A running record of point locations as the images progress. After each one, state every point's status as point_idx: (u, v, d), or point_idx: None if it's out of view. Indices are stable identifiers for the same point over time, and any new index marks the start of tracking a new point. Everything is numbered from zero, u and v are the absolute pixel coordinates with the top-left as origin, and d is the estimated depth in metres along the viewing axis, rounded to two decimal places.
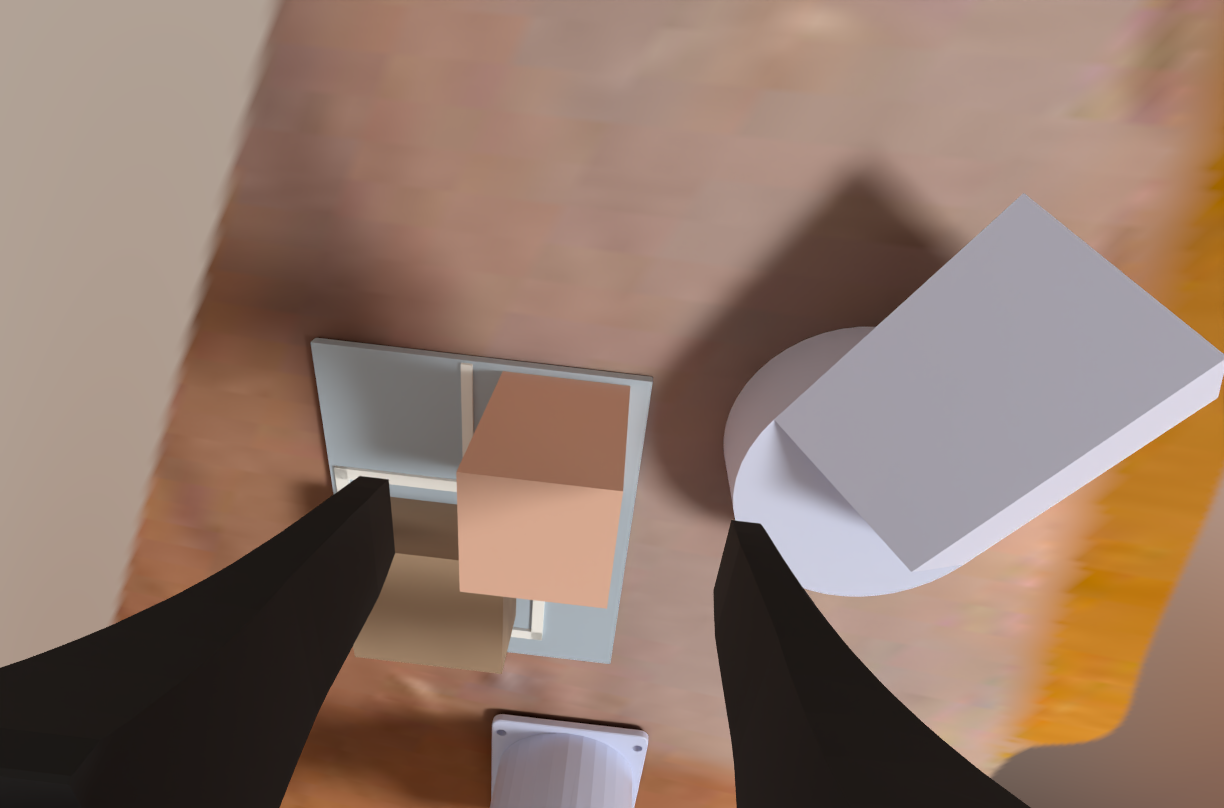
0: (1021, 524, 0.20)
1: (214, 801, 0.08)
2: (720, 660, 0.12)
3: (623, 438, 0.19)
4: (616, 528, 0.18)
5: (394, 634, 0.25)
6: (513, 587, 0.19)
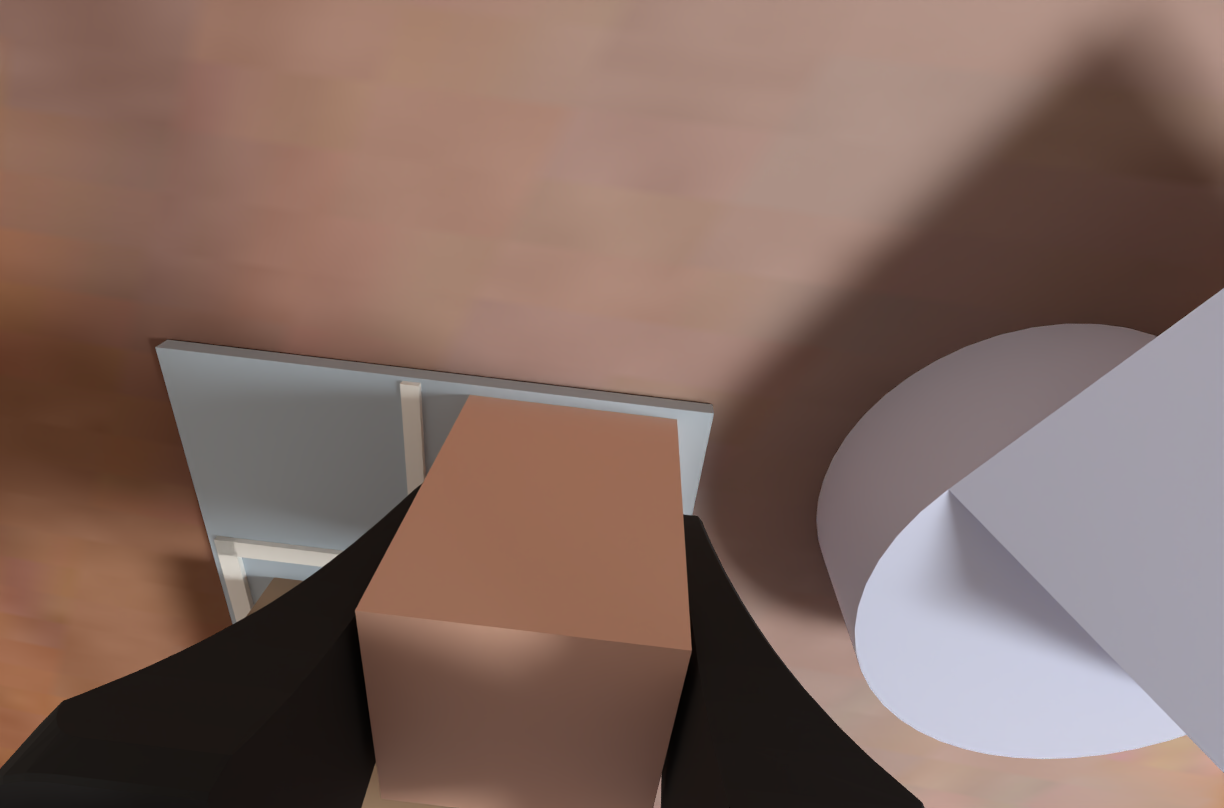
0: None
1: None
2: None
3: (678, 522, 0.11)
4: (673, 711, 0.09)
5: None
6: (478, 796, 0.10)
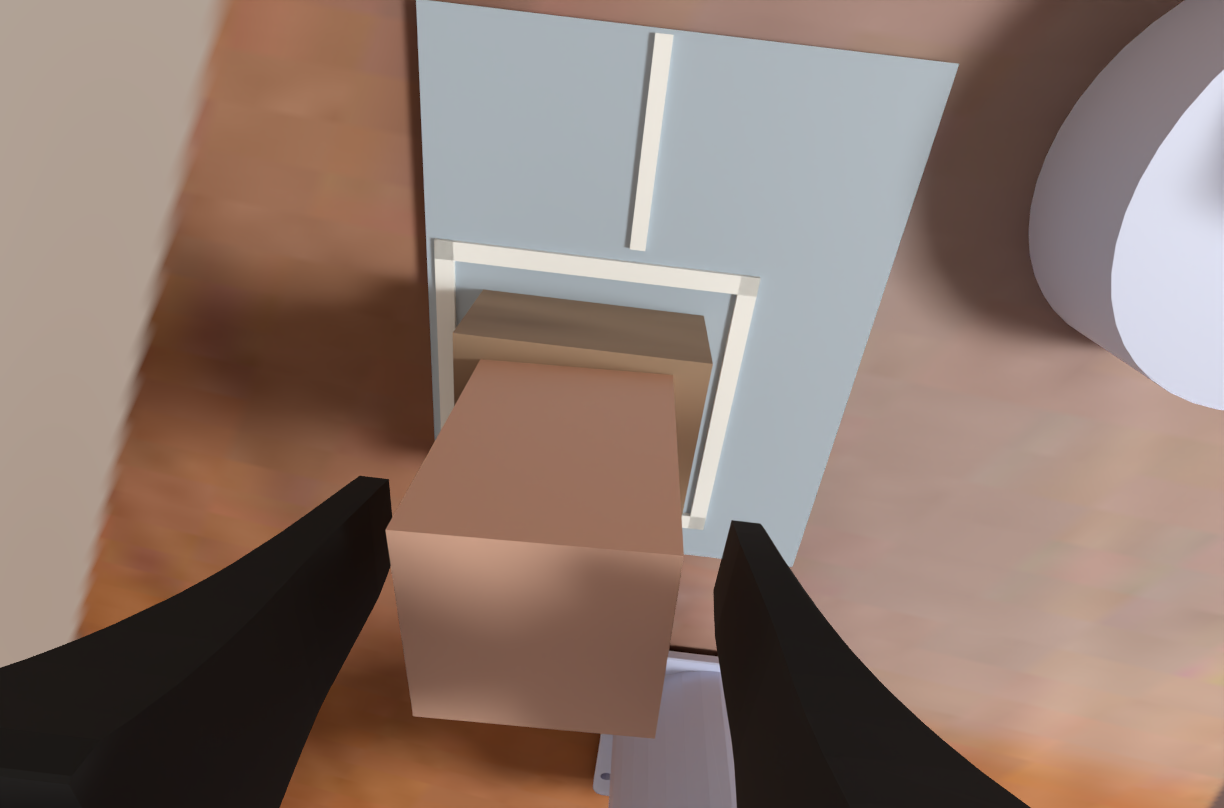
0: None
1: (214, 801, 0.08)
2: (720, 660, 0.12)
3: (673, 458, 0.12)
4: (671, 617, 0.10)
5: None
6: (500, 709, 0.11)
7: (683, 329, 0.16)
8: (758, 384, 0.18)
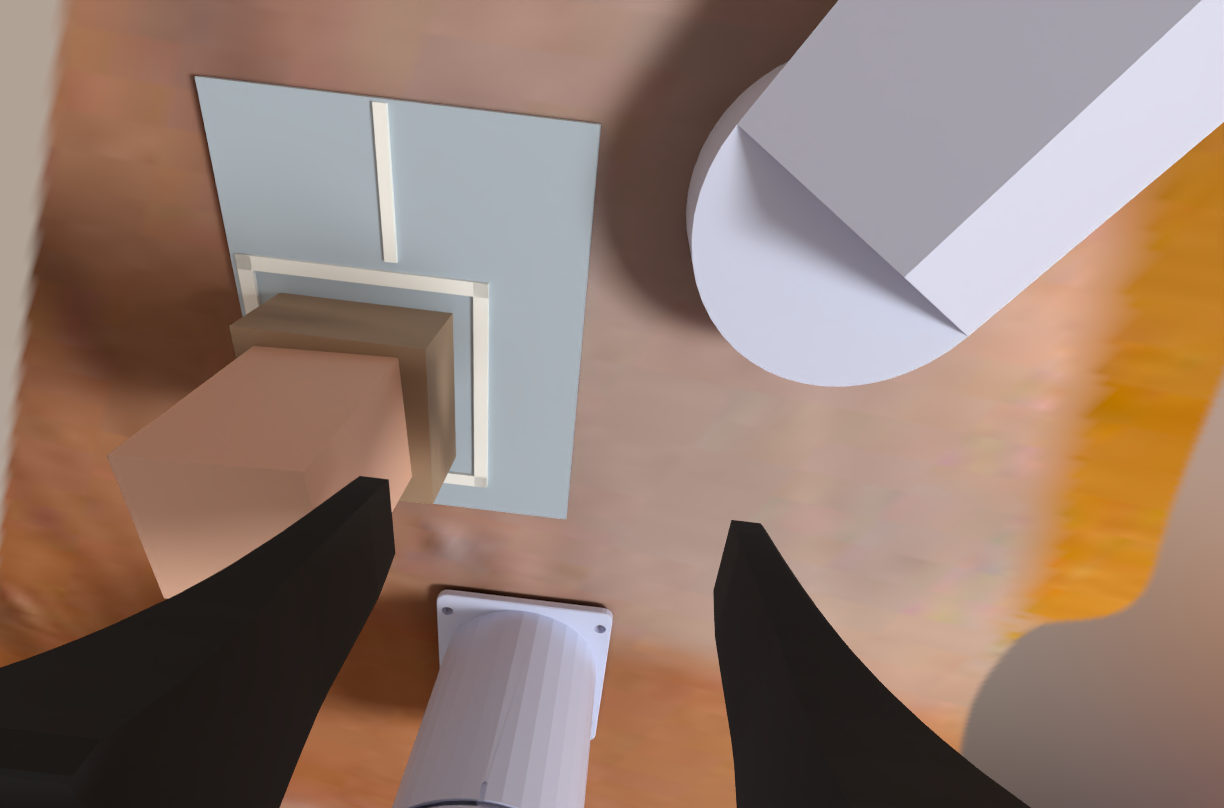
0: (1037, 269, 0.17)
1: (214, 801, 0.08)
2: (721, 660, 0.12)
3: (348, 414, 0.16)
4: None
5: None
6: None
7: (425, 323, 0.21)
8: (506, 368, 0.23)
